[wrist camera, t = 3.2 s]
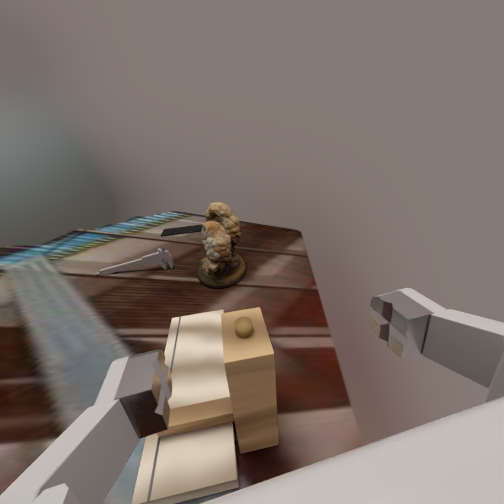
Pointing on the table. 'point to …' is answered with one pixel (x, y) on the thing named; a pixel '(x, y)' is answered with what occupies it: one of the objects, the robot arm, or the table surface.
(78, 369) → the table surface
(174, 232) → the smartphone
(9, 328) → the table surface
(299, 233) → the table surface
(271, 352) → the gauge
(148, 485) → the board
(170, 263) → the caliper
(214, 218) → the carved stone sculpture
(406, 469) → the robot arm
